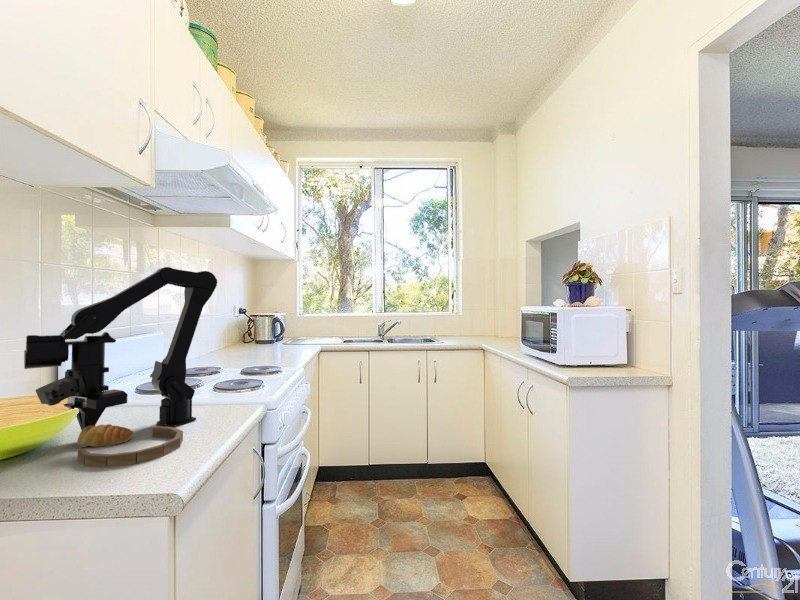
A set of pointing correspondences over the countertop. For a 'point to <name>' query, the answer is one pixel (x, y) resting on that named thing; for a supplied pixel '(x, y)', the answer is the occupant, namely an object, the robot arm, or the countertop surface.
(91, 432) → the pastry
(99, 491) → the countertop surface
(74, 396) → the robot arm
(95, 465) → the walnut open arc
